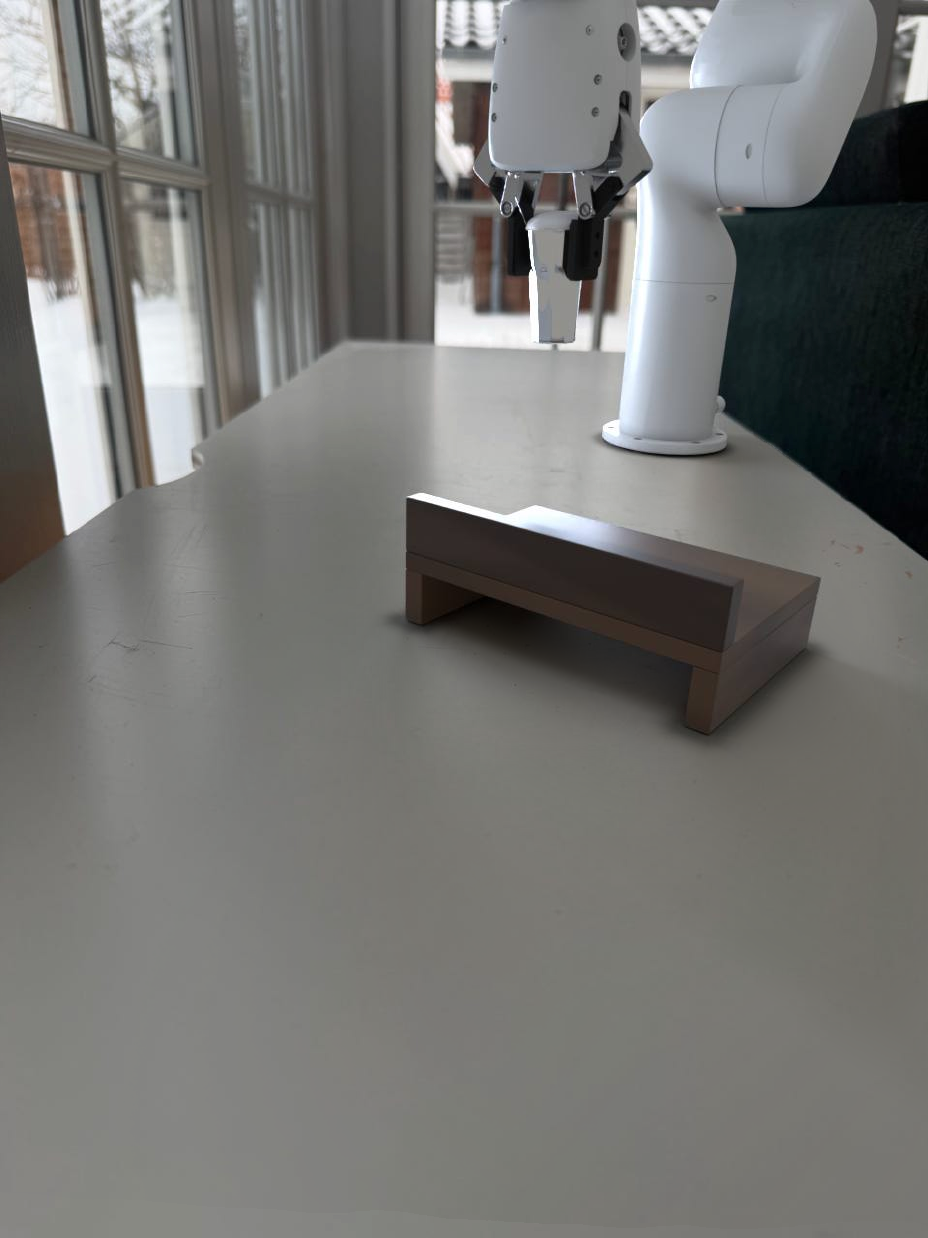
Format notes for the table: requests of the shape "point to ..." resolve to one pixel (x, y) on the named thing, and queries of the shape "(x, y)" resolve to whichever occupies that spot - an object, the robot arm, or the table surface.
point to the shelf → (616, 591)
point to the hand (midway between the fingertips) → (551, 274)
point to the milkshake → (551, 278)
